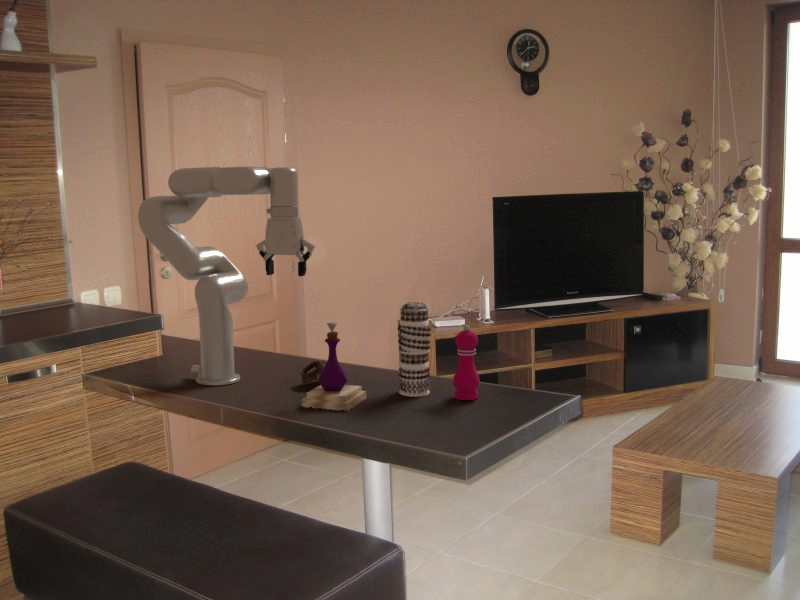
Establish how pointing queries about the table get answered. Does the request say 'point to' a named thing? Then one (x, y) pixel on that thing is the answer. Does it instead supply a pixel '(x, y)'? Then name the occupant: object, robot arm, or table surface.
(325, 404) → the plinth
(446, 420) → the table surface
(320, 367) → the pottery mug
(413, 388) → the decorative candle
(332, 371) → the perfume bottle
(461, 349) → the pepper mill
